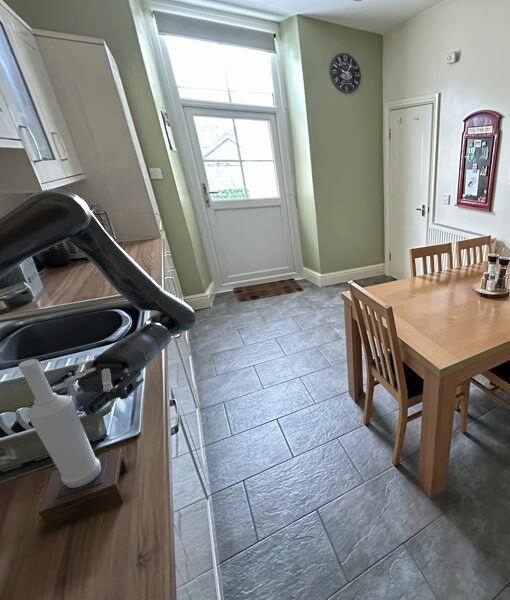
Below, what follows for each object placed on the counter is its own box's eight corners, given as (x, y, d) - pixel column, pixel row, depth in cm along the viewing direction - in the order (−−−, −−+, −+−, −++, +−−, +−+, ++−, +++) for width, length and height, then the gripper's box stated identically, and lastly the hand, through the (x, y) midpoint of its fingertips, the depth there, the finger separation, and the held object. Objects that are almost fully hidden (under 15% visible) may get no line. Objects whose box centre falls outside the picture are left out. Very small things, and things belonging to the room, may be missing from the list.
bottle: (99, 481, 59) (46, 367, 49) (60, 494, 57) (-4, 377, 47) (104, 459, 63) (56, 350, 53) (68, 471, 61) (10, 358, 51)
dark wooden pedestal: (49, 531, 56) (37, 511, 54) (62, 489, 63) (52, 470, 61) (123, 502, 61) (115, 483, 59) (127, 466, 68) (120, 448, 66)
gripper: (87, 341, 68) (5, 393, 53) (158, 342, 69) (97, 394, 54) (99, 371, 71) (24, 428, 56) (167, 371, 72) (111, 428, 57)
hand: (60, 411), depth 55 cm, fingers open, 8 cm apart
